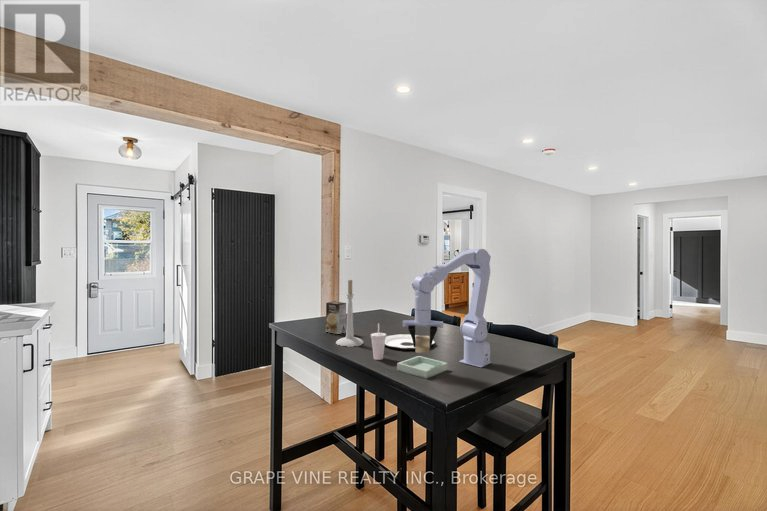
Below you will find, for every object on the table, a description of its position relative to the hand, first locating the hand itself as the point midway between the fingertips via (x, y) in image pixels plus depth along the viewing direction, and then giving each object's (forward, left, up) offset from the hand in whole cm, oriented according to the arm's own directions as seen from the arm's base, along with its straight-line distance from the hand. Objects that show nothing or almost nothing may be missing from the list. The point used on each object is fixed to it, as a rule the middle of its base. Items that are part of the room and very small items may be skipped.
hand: (422, 346), depth 128 cm
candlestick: (+47, -7, -9) cm, 48 cm away
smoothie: (+21, +1, -9) cm, 23 cm away
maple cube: (0, 0, -2) cm, 2 cm away
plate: (+27, -25, -9) cm, 38 cm away
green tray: (0, 0, -8) cm, 8 cm away
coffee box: (+68, -16, -9) cm, 70 cm away
